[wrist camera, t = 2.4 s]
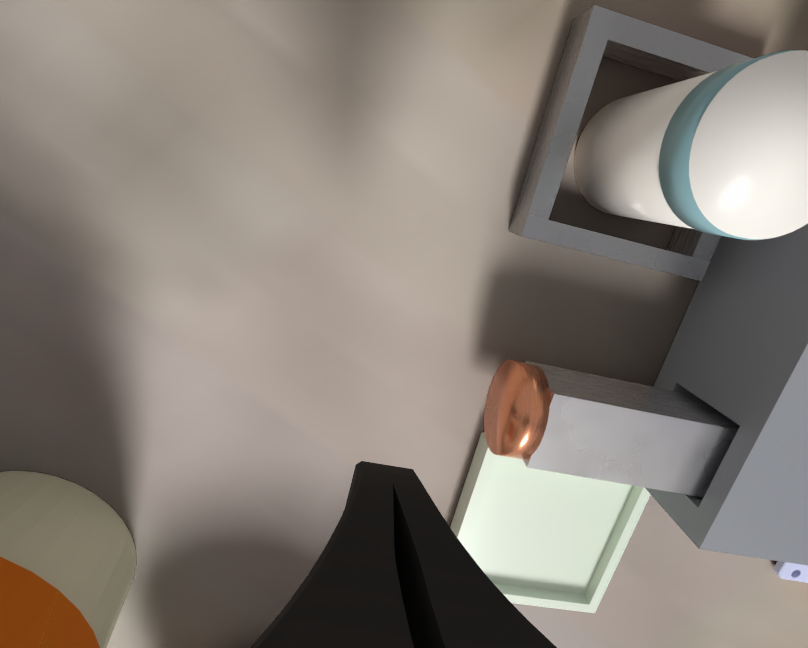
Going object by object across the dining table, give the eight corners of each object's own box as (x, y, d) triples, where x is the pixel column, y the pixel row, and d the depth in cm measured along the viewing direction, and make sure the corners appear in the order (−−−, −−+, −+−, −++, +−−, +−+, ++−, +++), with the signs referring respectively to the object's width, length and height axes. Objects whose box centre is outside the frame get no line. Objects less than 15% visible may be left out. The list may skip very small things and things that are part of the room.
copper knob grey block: (696, 387, 20) (763, 430, 17) (663, 457, 21) (721, 511, 18) (502, 346, 19) (533, 384, 16) (477, 423, 20) (501, 475, 17)
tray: (644, 461, 23) (659, 476, 22) (584, 593, 25) (594, 613, 24) (481, 431, 22) (488, 446, 20) (434, 573, 24) (438, 593, 23)
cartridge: (703, 112, 18) (902, 78, 11) (657, 228, 19) (811, 258, 13) (597, 79, 17) (742, 22, 11) (556, 201, 19) (664, 218, 12)
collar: (756, 80, 18) (793, 71, 16) (675, 272, 20) (701, 281, 18) (573, 19, 17) (594, 4, 15) (508, 231, 19) (521, 236, 17)
